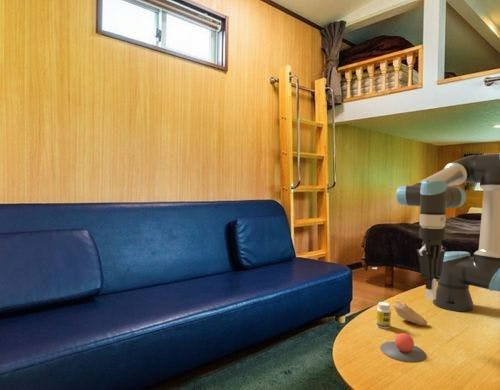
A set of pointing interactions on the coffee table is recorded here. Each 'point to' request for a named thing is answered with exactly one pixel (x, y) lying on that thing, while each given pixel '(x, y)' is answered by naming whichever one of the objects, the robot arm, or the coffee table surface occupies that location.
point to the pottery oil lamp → (409, 314)
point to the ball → (404, 342)
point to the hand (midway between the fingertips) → (430, 298)
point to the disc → (403, 353)
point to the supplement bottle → (383, 315)
